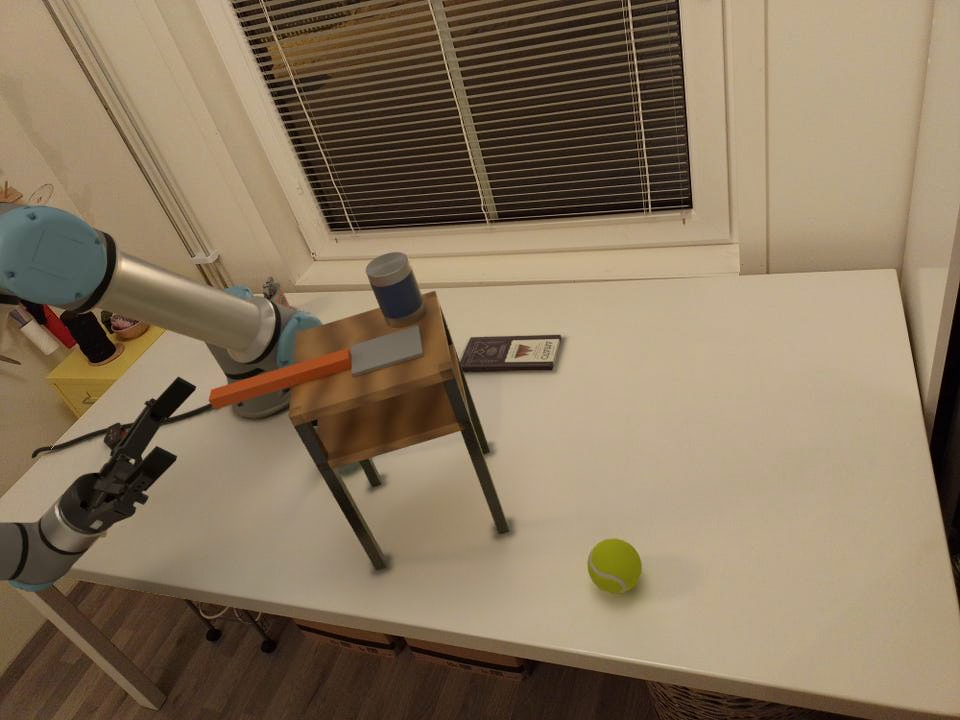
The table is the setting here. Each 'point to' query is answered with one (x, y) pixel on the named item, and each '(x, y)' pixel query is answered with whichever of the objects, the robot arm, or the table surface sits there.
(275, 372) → the spatula
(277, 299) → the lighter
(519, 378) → the table surface
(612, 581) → the tennis ball
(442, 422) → the side table
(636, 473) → the table surface
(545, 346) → the chocolate bar
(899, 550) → the table surface
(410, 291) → the tin can
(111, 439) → the dark brown lumpy chunk
